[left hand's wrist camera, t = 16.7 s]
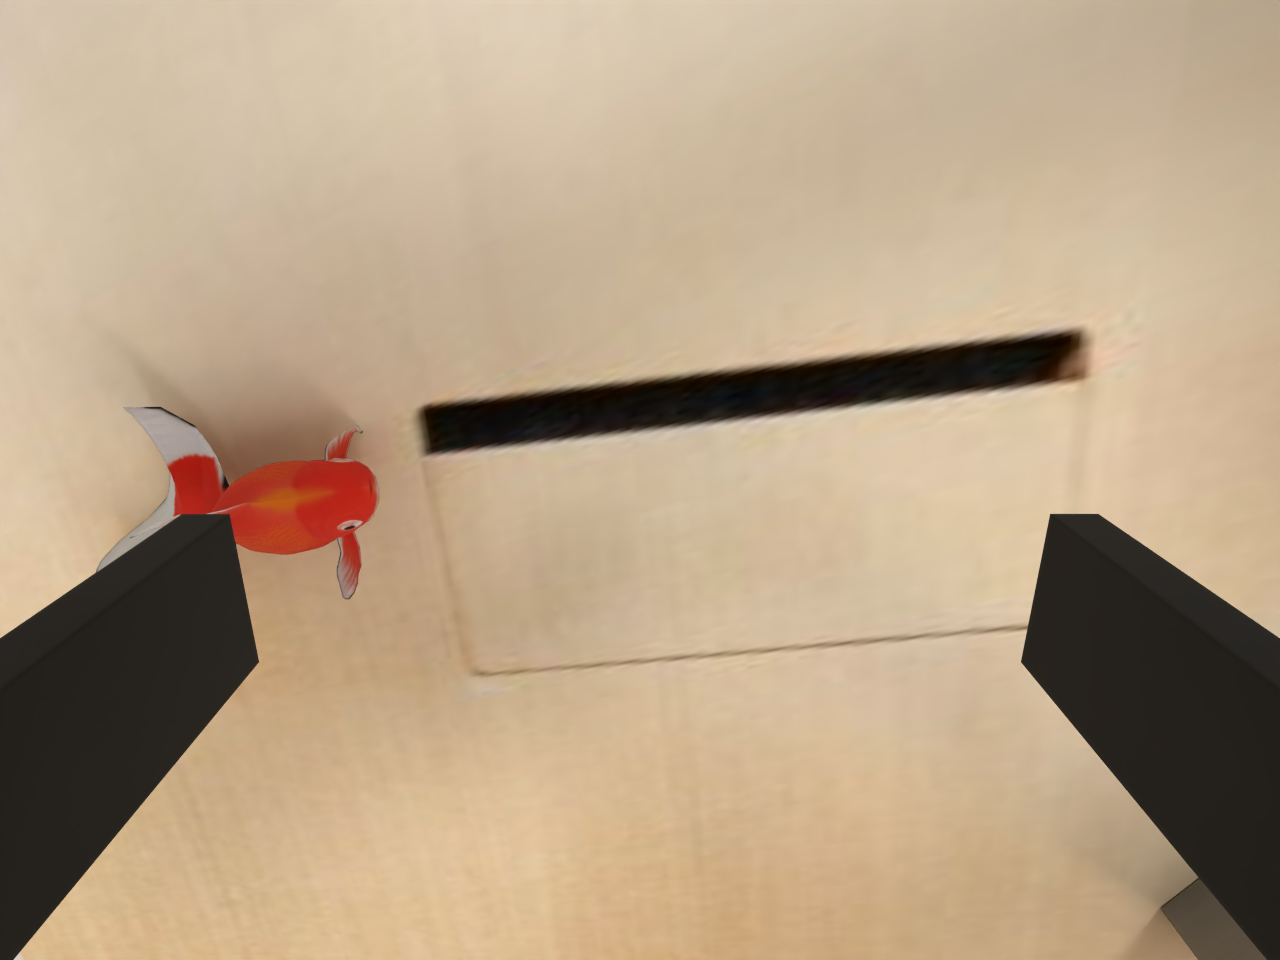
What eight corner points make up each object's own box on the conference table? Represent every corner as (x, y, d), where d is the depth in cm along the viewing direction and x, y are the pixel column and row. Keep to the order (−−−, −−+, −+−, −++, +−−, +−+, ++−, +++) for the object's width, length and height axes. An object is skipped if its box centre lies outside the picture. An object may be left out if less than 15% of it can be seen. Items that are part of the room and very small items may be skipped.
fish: (429, 660, 37) (244, 714, 27) (208, 603, 43) (-1, 630, 34) (453, 435, 36) (273, 414, 27) (227, 411, 43) (21, 387, 34)
